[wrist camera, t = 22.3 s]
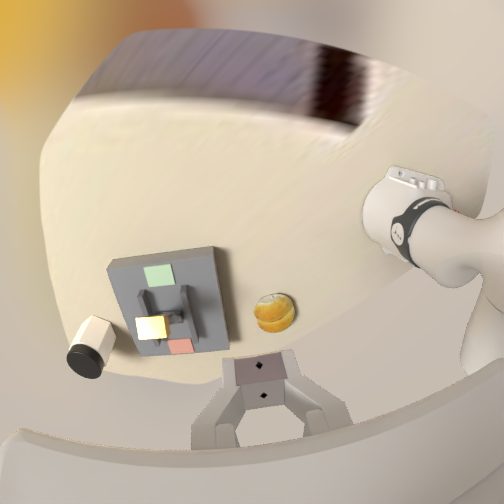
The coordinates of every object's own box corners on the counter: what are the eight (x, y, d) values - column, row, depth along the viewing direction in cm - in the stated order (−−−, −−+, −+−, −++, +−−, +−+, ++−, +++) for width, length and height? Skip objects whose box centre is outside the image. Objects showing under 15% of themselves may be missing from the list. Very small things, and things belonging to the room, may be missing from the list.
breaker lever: (182, 307, 52) (165, 315, 39) (184, 324, 52) (168, 337, 39) (157, 310, 52) (134, 318, 38) (160, 326, 51) (137, 339, 38)
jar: (81, 334, 57) (64, 368, 46) (84, 310, 54) (64, 345, 43) (114, 348, 59) (101, 384, 48) (119, 325, 56) (104, 362, 46)
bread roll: (261, 330, 61) (263, 342, 57) (249, 299, 57) (252, 311, 54) (297, 319, 61) (301, 331, 57) (288, 287, 57) (293, 298, 53)
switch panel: (213, 246, 51) (212, 262, 45) (228, 337, 61) (230, 357, 55) (112, 259, 50) (101, 275, 44) (143, 344, 59) (138, 364, 53)
